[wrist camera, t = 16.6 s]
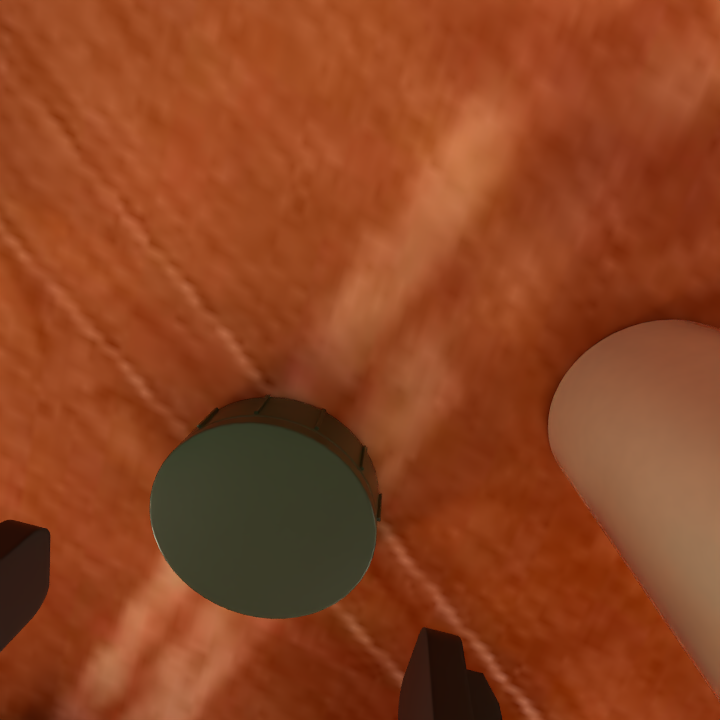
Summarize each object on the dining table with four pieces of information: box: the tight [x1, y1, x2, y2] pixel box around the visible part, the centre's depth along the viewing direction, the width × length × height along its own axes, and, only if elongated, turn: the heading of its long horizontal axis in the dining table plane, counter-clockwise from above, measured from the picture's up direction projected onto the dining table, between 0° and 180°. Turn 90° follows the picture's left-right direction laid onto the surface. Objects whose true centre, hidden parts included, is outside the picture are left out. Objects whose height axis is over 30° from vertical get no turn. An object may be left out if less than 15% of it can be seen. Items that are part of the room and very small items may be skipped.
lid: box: [150, 395, 382, 619], centre depth 12 cm, size 6×6×2 cm
